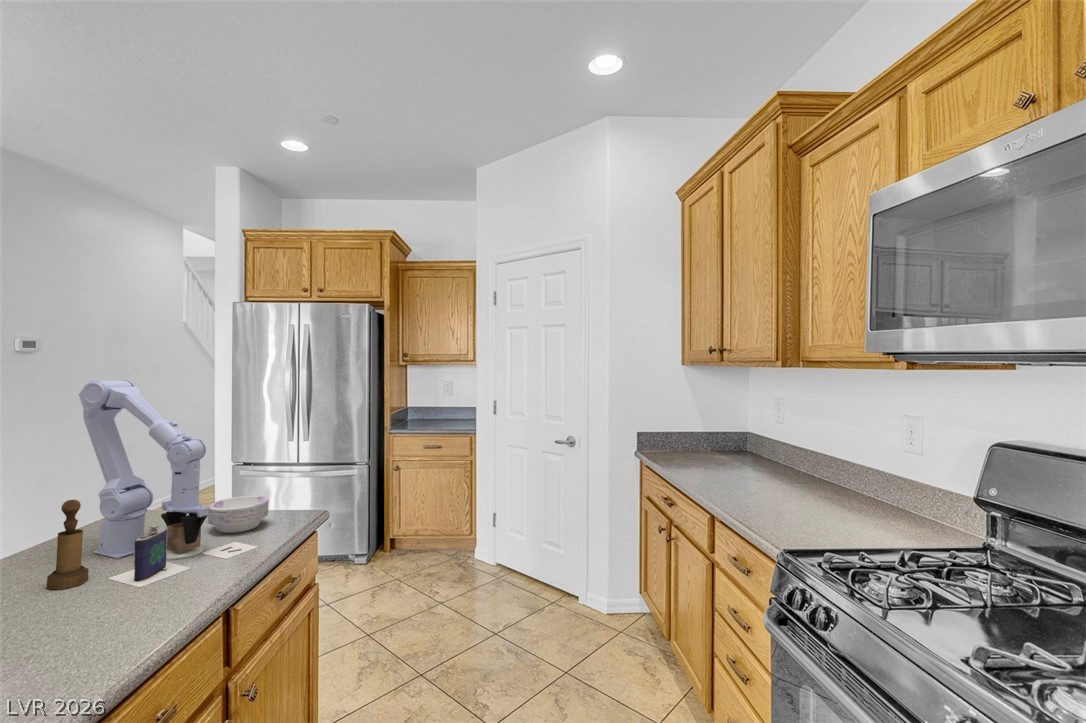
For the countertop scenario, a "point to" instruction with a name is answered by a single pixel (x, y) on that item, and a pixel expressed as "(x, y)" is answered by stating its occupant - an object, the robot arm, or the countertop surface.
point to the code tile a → (164, 573)
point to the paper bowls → (238, 513)
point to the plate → (184, 553)
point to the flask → (150, 553)
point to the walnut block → (179, 539)
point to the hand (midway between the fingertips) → (183, 541)
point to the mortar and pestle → (69, 552)
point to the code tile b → (229, 550)
